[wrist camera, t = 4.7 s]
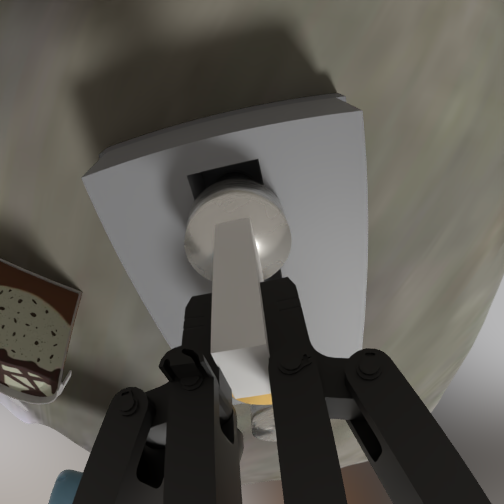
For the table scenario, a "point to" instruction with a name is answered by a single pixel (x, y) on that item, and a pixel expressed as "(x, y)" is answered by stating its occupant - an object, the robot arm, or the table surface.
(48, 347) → the food container
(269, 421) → the knob
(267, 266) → the knob
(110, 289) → the table surface
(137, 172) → the mount
